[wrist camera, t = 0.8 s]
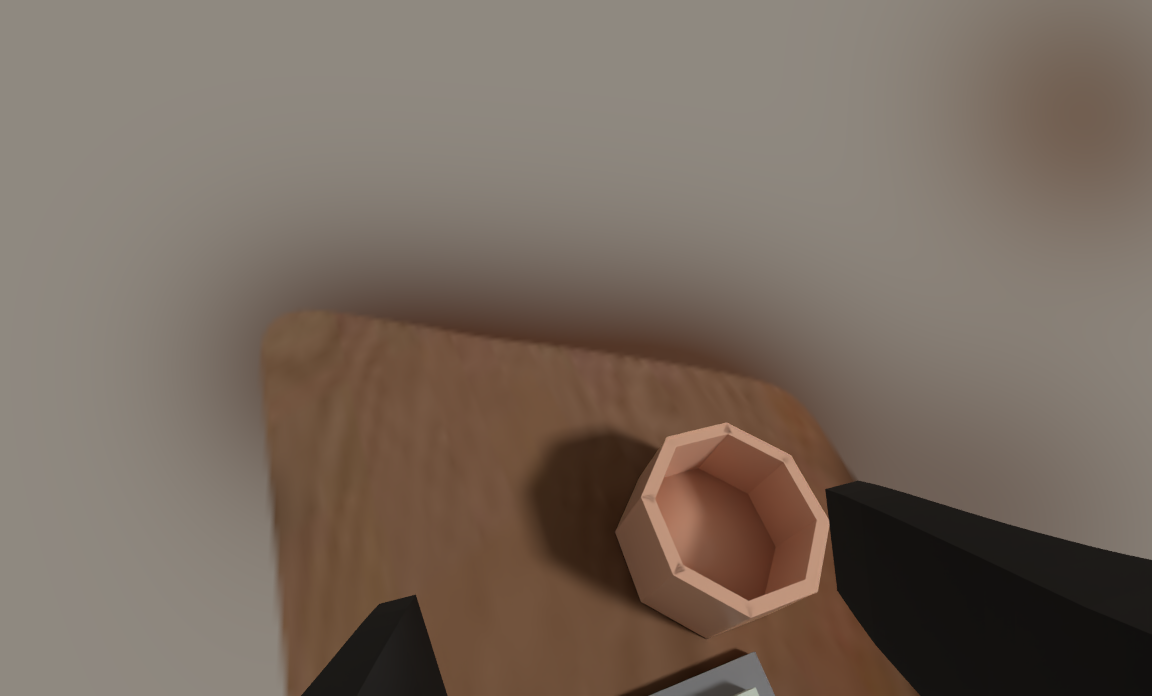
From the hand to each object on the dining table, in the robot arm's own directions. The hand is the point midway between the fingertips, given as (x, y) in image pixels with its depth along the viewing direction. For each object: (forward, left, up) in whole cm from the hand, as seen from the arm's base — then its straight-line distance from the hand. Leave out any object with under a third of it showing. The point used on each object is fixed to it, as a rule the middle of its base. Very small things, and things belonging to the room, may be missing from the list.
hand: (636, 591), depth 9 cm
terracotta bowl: (+3, -8, -13) cm, 16 cm away
